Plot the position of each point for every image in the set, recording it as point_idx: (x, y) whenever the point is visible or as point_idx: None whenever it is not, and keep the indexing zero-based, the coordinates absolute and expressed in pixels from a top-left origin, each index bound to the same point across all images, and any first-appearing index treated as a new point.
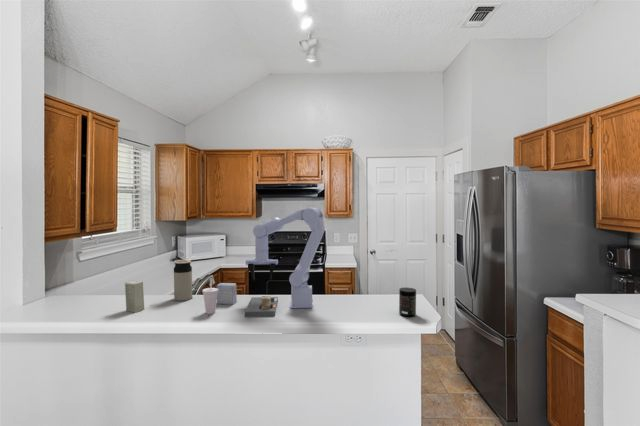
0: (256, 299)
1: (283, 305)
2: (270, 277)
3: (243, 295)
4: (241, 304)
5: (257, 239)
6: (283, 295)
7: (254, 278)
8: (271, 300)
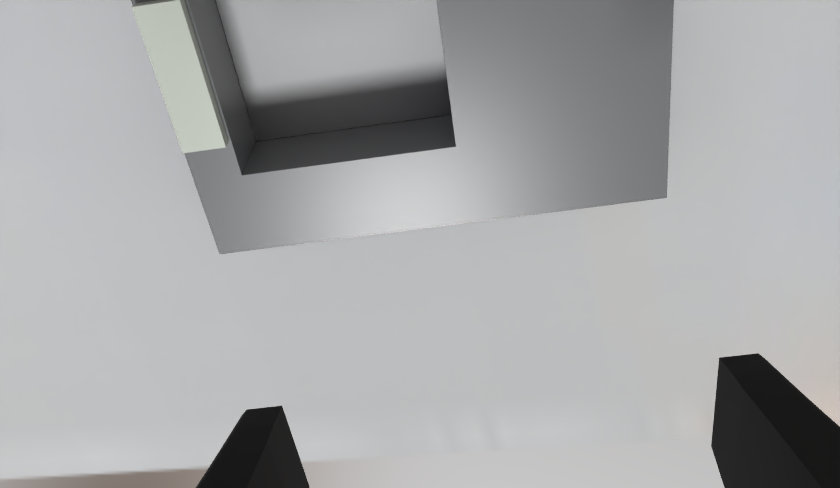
0: (557, 88)
1: (53, 14)
2: (232, 464)
3: None
4: (808, 10)
5: None
6: None
7: (727, 455)
8: (302, 151)
